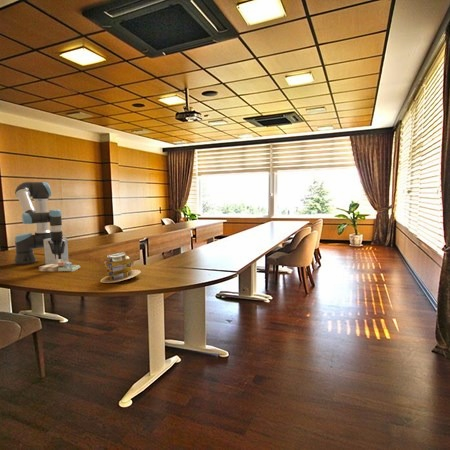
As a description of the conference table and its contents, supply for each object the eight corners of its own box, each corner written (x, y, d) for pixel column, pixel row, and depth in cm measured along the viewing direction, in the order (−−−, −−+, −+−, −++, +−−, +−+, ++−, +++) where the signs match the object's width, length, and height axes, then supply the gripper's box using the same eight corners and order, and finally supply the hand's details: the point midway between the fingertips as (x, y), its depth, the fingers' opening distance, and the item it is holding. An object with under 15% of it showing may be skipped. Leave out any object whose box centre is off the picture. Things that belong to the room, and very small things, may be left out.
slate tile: (65, 262, 219) (68, 264, 219) (68, 261, 224) (71, 262, 224) (63, 268, 220) (66, 269, 220) (67, 267, 224) (70, 268, 224)
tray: (57, 271, 218) (57, 268, 217) (66, 268, 227) (66, 264, 227) (72, 271, 216) (72, 268, 216) (80, 268, 226) (80, 265, 226)
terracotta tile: (58, 266, 220) (57, 262, 220) (62, 264, 225) (61, 261, 224) (64, 265, 220) (63, 262, 219) (68, 264, 224) (67, 260, 224)
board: (39, 271, 219) (38, 267, 219) (48, 267, 229) (48, 263, 229) (57, 271, 218) (57, 267, 217) (66, 268, 227) (65, 264, 227)
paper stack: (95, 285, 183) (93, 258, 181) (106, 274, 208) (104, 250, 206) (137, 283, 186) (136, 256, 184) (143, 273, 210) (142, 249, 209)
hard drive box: (69, 262, 246) (67, 237, 244) (63, 264, 239) (61, 239, 237) (51, 262, 248) (49, 237, 246) (44, 264, 240) (42, 239, 238)
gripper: (44, 231, 217) (46, 264, 219) (61, 231, 215) (63, 264, 218) (51, 230, 224) (53, 262, 227) (68, 230, 223) (70, 262, 225)
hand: (58, 263), depth 222 cm, fingers closed
